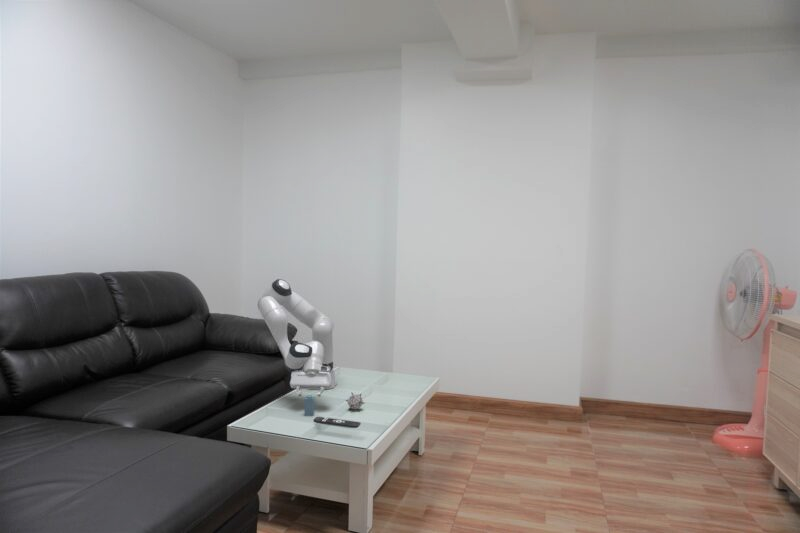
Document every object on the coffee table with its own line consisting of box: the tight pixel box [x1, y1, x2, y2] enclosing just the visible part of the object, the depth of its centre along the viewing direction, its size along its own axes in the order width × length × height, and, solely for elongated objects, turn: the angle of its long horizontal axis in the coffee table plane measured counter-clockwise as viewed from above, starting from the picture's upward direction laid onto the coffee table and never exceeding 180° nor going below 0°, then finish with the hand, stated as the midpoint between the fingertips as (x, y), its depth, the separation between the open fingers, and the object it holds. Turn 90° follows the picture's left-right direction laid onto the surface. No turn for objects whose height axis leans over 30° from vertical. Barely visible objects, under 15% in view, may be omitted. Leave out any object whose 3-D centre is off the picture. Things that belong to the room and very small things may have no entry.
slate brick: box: [304, 395, 315, 417], centre depth 260 cm, size 4×4×9 cm
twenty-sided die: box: [345, 392, 366, 412], centre depth 269 cm, size 9×8×10 cm
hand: (309, 395), depth 263 cm, fingers open, 8 cm apart
